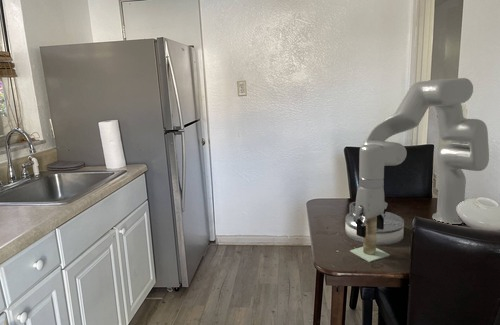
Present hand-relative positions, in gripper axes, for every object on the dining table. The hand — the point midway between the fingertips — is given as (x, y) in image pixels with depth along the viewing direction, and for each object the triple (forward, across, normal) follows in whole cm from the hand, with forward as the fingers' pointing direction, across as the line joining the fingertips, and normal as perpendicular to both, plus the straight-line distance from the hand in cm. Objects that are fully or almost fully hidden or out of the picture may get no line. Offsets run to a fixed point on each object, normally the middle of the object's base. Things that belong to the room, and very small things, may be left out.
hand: (370, 232), depth 116 cm
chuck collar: (+4, -16, -9) cm, 19 cm away
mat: (+8, 0, 0) cm, 8 cm away
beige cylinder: (+7, 0, 0) cm, 7 cm away
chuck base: (+8, -16, -9) cm, 20 cm away
